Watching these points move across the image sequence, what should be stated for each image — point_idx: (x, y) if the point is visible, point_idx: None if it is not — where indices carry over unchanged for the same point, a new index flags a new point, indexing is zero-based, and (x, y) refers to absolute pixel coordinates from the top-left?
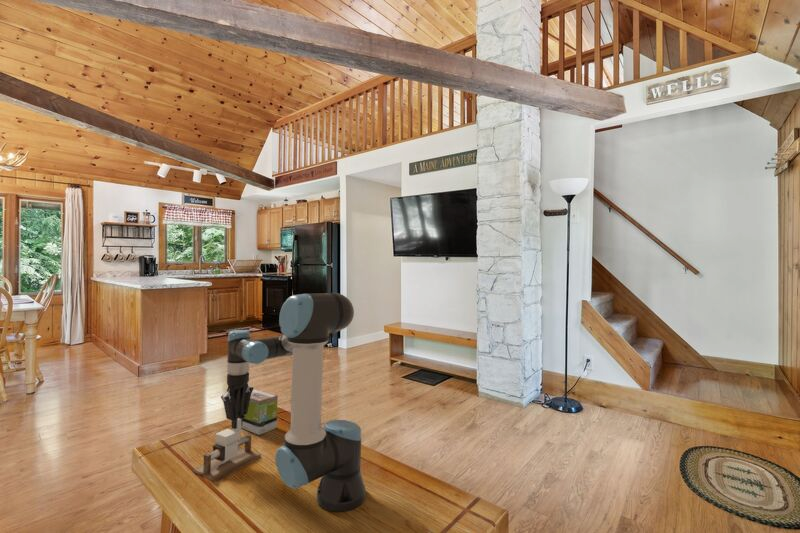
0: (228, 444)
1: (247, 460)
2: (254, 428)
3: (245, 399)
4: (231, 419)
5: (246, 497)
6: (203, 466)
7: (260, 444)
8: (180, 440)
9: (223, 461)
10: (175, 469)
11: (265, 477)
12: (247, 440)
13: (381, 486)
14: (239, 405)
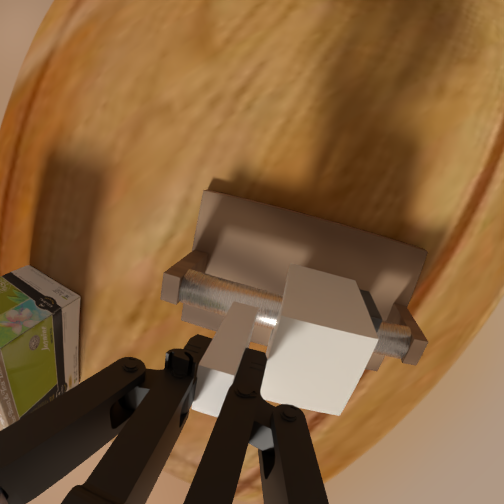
0: (350, 308)
1: (271, 215)
2: (69, 325)
3: (56, 456)
4: (303, 414)
5: (471, 89)
6: None
7: (124, 253)
8: None
9: None
10: (362, 417)
11: (351, 77)
12: (197, 272)
13: None
14: (152, 467)
